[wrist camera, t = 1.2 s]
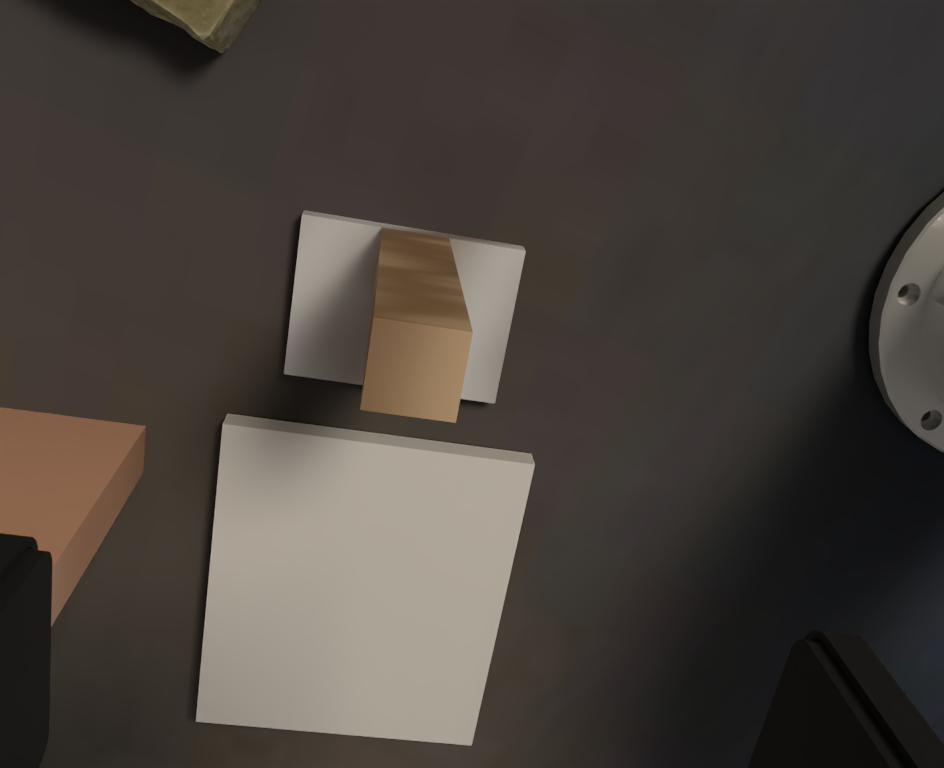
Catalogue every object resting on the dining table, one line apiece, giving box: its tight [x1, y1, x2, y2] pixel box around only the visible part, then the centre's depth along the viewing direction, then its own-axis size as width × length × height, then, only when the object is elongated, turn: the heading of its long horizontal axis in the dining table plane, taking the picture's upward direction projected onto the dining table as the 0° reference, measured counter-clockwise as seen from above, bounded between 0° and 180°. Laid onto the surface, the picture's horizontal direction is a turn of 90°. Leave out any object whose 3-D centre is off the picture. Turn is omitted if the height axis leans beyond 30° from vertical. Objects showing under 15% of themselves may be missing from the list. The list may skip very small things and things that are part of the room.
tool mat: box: [196, 413, 535, 746], centre depth 37 cm, size 12×14×1 cm
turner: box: [284, 210, 526, 423], centre depth 28 cm, size 8×6×12 cm
